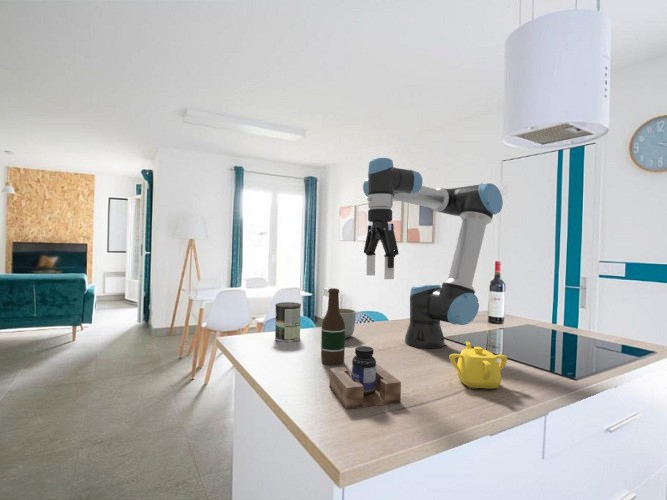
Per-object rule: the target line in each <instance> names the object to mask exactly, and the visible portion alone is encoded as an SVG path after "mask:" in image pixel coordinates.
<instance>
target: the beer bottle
mask: <svg viewBox="0 0 667 500" xmlns="http://www.w3.org/2000/svg"><path fill="white" fill-rule="evenodd" d="M327 292H328V302H327V303H328V304H327V310H326V311H327V314H325V315H324V317H323V319H322V321H321V338H320V339H321V341H320V345H321V346H320V347H321V348H320V350H321V351H320V353H321V354H320V356H321V357H320V358H321V362H322V364H323V365H327V366H340V365H342V364H344V363H345V347H346V346H345V345H346V344H345V341H346V340H345V339H346V338H345V324H344V320H343V318H342V316H341V315H340V311H339V308H340V300H339V293H340V289H339V288H329V289H328V291H327Z"/></svg>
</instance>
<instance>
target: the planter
mask: <svg viewBox="0 0 667 500" xmlns="http://www.w3.org/2000/svg"><path fill="white" fill-rule="evenodd" d="M325 311H326V312H325V313H326V314H327V310H325ZM339 311H340V315H341V316H342V318H343V320H344V324H345V339H348V338H350V337H351V336H353V335H354V332H355V328H356V320H357V319H356V317H357V316H356V315H357V314H356V313H357V312H356V311H357V310H355V309H351V308H342V307H341V308H340V307H339ZM326 314H325V315H326Z"/></svg>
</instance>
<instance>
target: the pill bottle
mask: <svg viewBox="0 0 667 500" xmlns="http://www.w3.org/2000/svg"><path fill="white" fill-rule="evenodd" d="M354 353H355V356H353V358H352V360H351V379H352V380H353V381H354V382H360V383H361V384H362V385H363V386H364V392H363V395H370V394H373V393H374V392H375V382H376V364H377V360H376V358H375V357H374V356H373V355H374V348H373V347H371V346H367V345H365V346H364V345H359V346H356V347H355V349H354Z"/></svg>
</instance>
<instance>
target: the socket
mask: <svg viewBox="0 0 667 500" xmlns="http://www.w3.org/2000/svg"><path fill="white" fill-rule="evenodd" d="M329 389H330V390H331V391H332V392H333V394H334V395H335V396H336V398H337V399H338V400H339V401H340V403H341V404H342V405H343V407H344V408H345V409H346V410H350V409H351V410H352V409H359V408H367V407H374V406H375V407H376V406H382V405H383V406H384V405H391V404H399V403H402V402H401V401H402V400H401V396H402V395H401V393H402V391H401V390H402V381H400V380H399V379H398V378H396V377H395V376H394V375H392V374H391V373H390V372H388V370H386V369H385V368H383V367H382V366H380V365H379V363H376V382H375V392H374V393H373V394H370V395H363V392H364V386H363V385H362V384H361V383H360V382H354V381H353V380H352V377H350V376H349V370H348V369H347V368H346V367H345V366H342V367H331V368H329Z"/></svg>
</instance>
